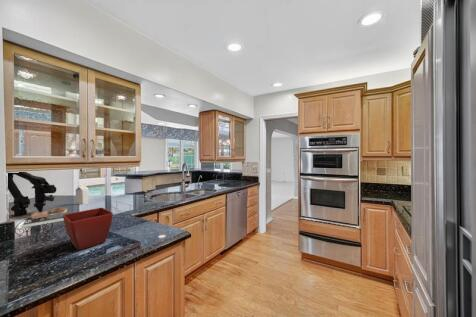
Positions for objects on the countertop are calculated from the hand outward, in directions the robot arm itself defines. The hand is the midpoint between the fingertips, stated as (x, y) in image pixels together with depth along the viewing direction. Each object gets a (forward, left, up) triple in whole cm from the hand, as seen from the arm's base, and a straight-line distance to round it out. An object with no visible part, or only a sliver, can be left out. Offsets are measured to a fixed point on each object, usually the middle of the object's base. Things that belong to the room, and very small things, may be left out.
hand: (40, 212), depth 161 cm
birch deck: (+5, 0, -3) cm, 6 cm away
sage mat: (+5, -15, -3) cm, 16 cm away
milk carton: (+28, +20, -3) cm, 35 cm away
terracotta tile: (0, -6, -1) cm, 6 cm away
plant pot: (+24, -84, -3) cm, 87 cm away
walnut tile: (+10, 0, -1) cm, 10 cm away
